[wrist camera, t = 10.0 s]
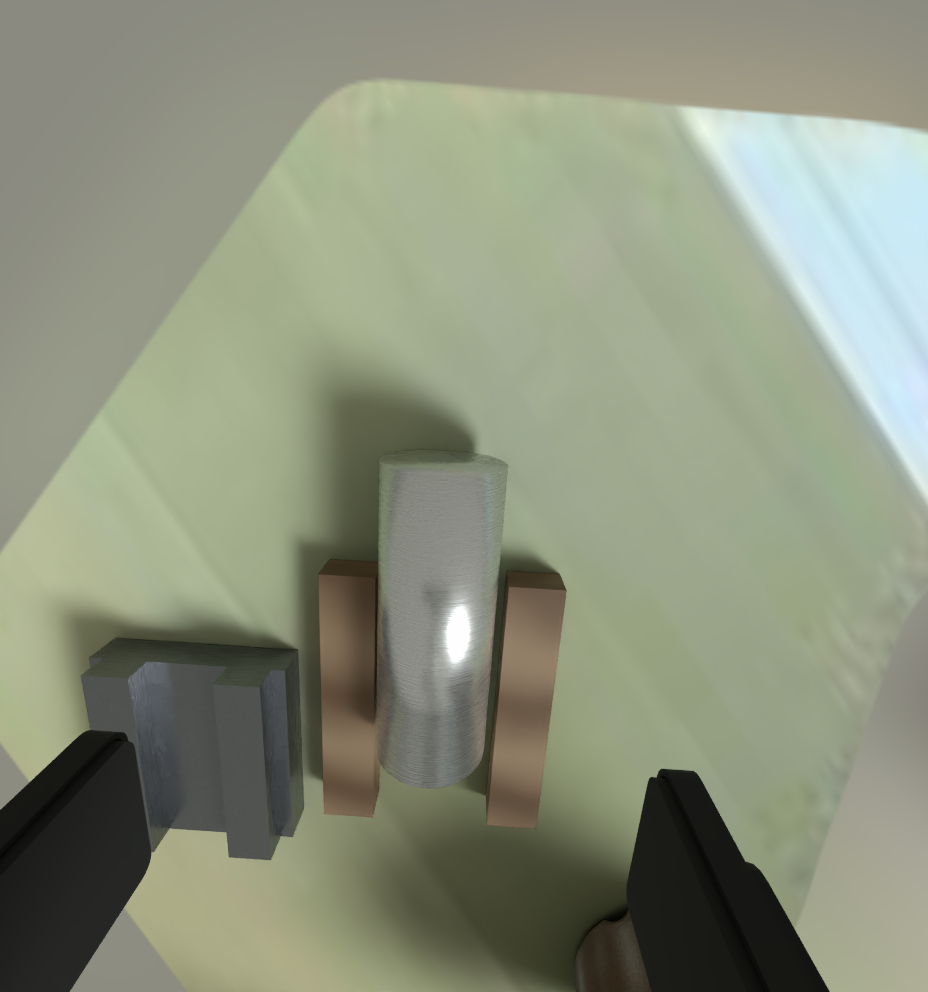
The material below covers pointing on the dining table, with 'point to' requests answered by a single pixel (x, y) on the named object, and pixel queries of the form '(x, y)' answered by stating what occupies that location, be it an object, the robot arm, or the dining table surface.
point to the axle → (436, 610)
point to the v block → (206, 735)
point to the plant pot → (611, 959)
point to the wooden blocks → (517, 699)
